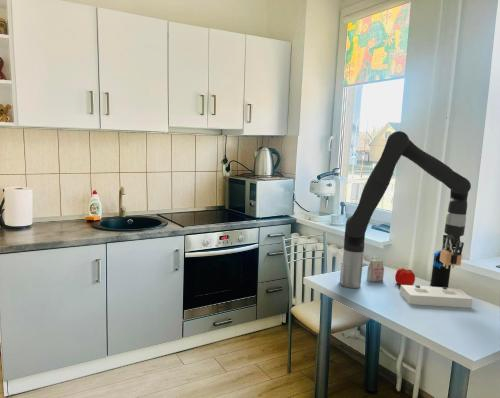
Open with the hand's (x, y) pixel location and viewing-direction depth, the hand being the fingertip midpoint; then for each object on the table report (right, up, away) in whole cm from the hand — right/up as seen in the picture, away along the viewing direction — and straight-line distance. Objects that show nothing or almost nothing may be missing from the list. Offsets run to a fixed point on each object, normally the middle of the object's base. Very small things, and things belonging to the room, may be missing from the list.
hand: (449, 261), depth 170 cm
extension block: (-6, -18, +3) cm, 19 cm away
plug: (0, -3, 0) cm, 3 cm away
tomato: (-12, -15, +21) cm, 28 cm away
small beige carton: (-25, -14, +25) cm, 38 cm away
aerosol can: (+5, -16, +20) cm, 26 cm away
